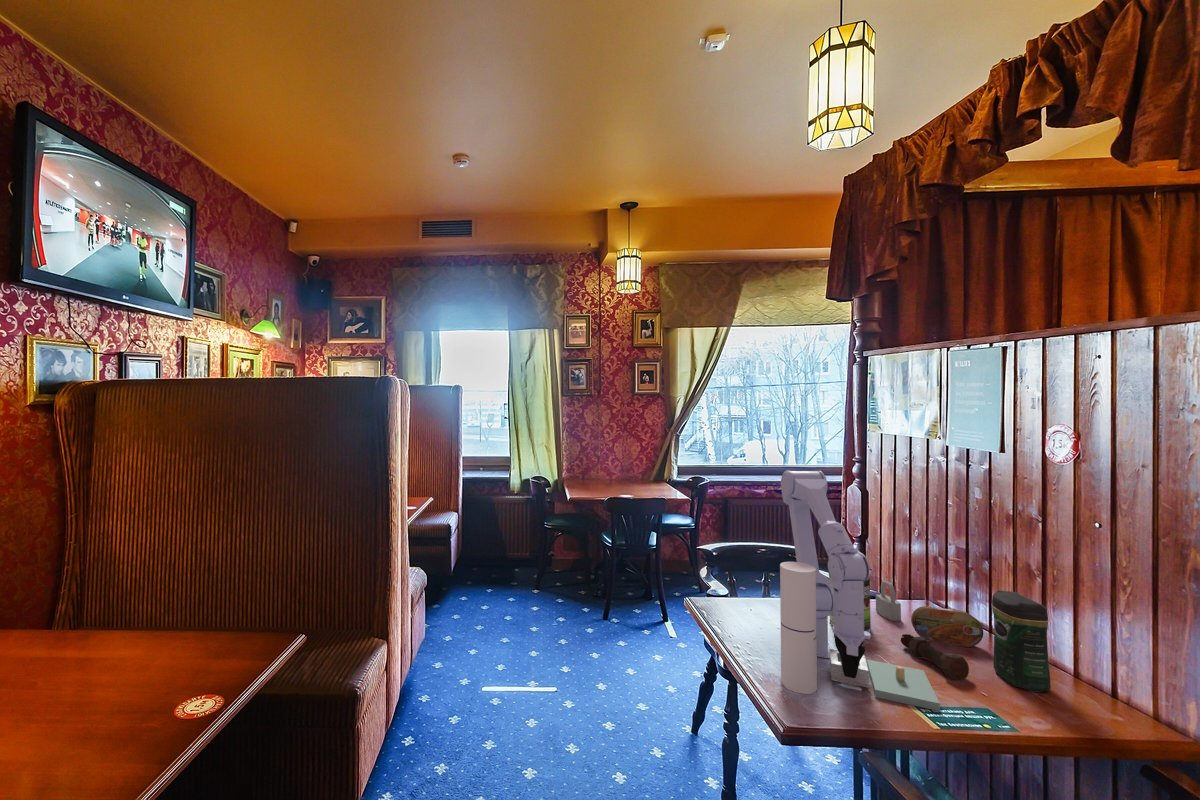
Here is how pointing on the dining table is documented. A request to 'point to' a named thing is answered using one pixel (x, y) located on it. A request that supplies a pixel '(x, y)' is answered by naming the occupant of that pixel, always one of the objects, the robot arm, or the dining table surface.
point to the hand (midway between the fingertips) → (849, 674)
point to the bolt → (937, 657)
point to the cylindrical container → (798, 627)
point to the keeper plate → (902, 685)
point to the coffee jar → (1021, 641)
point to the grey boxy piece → (838, 673)
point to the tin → (947, 626)
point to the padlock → (888, 603)
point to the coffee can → (866, 606)
